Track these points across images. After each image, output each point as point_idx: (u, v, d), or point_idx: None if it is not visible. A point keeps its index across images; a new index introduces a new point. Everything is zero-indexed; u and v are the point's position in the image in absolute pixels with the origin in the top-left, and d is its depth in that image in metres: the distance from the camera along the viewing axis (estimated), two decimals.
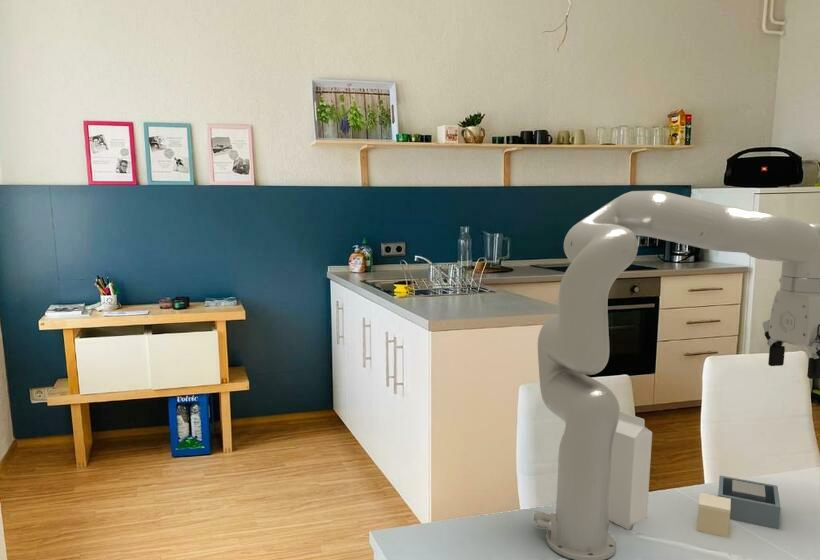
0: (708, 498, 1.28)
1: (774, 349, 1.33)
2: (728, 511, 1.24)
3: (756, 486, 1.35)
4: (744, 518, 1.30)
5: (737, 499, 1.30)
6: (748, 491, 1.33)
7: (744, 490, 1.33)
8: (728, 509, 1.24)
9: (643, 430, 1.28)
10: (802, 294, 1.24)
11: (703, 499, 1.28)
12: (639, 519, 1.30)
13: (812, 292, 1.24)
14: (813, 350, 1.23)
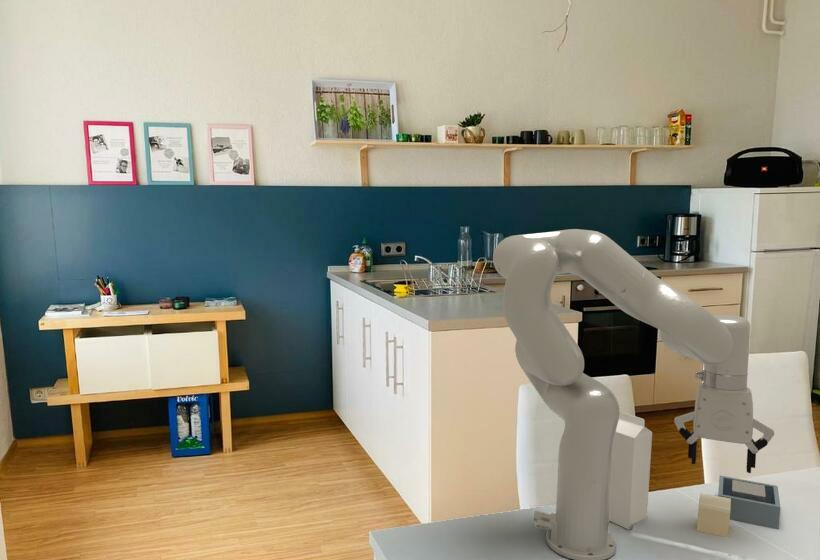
0: (708, 498, 1.28)
1: (696, 446, 1.27)
2: (728, 511, 1.24)
3: (756, 486, 1.35)
4: (744, 518, 1.30)
5: (737, 499, 1.30)
6: (748, 491, 1.33)
7: (744, 490, 1.33)
8: (728, 509, 1.24)
9: (643, 430, 1.28)
10: (740, 391, 1.21)
11: (703, 499, 1.28)
12: (639, 519, 1.30)
13: (745, 387, 1.22)
14: (752, 445, 1.22)
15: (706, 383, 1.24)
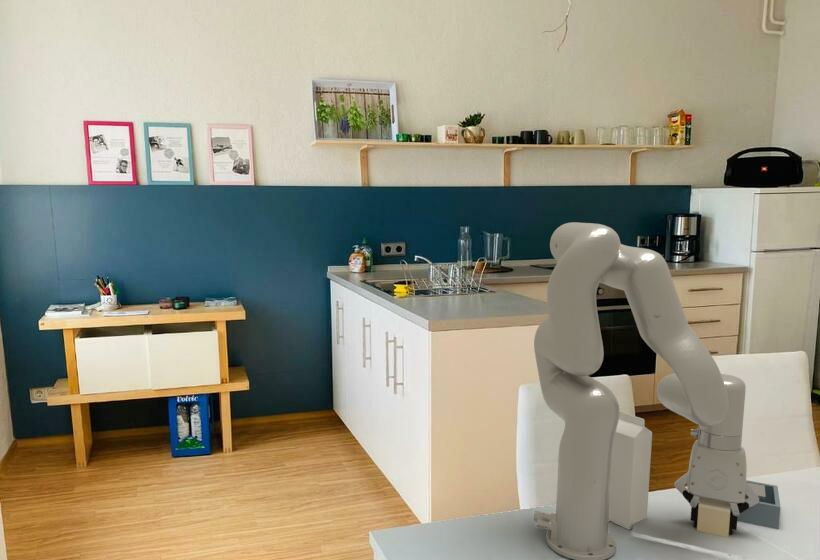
0: (708, 498, 1.28)
1: None
2: (728, 511, 1.24)
3: (756, 486, 1.35)
4: (744, 518, 1.30)
5: None
6: None
7: None
8: (728, 509, 1.24)
9: (643, 430, 1.28)
10: (734, 452, 1.22)
11: (703, 499, 1.28)
12: (639, 519, 1.30)
13: (740, 448, 1.23)
14: (736, 508, 1.24)
15: (701, 441, 1.25)
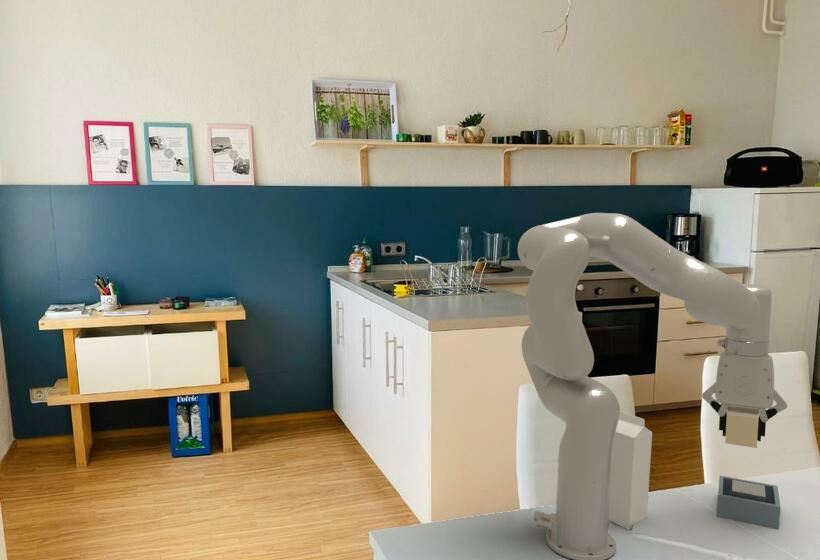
0: (736, 407, 1.30)
1: None
2: (756, 416, 1.26)
3: (756, 486, 1.35)
4: (744, 518, 1.30)
5: (737, 499, 1.30)
6: (748, 491, 1.33)
7: (744, 490, 1.33)
8: (756, 415, 1.26)
9: (643, 430, 1.28)
10: (762, 358, 1.24)
11: (731, 408, 1.30)
12: (639, 519, 1.30)
13: (767, 354, 1.25)
14: (764, 414, 1.26)
15: (728, 350, 1.27)
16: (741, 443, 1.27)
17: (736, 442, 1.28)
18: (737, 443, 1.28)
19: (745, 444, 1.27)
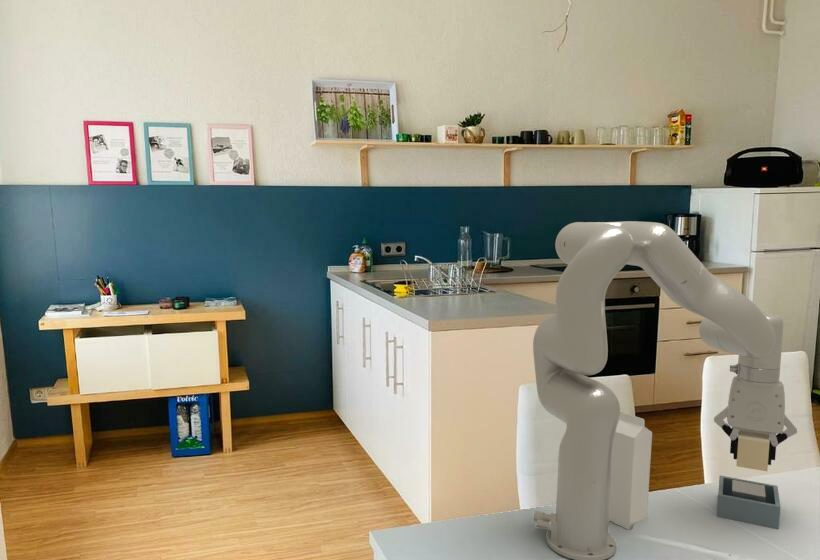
0: (747, 431, 1.34)
1: None
2: (767, 441, 1.30)
3: (756, 486, 1.35)
4: (744, 518, 1.30)
5: (737, 499, 1.30)
6: (748, 491, 1.33)
7: (744, 490, 1.33)
8: (767, 439, 1.30)
9: (643, 430, 1.28)
10: (773, 384, 1.28)
11: (742, 432, 1.34)
12: (639, 519, 1.30)
13: (778, 381, 1.29)
14: (775, 438, 1.30)
15: (740, 376, 1.31)
16: (752, 466, 1.31)
17: (747, 465, 1.32)
18: (748, 466, 1.32)
19: (756, 467, 1.31)
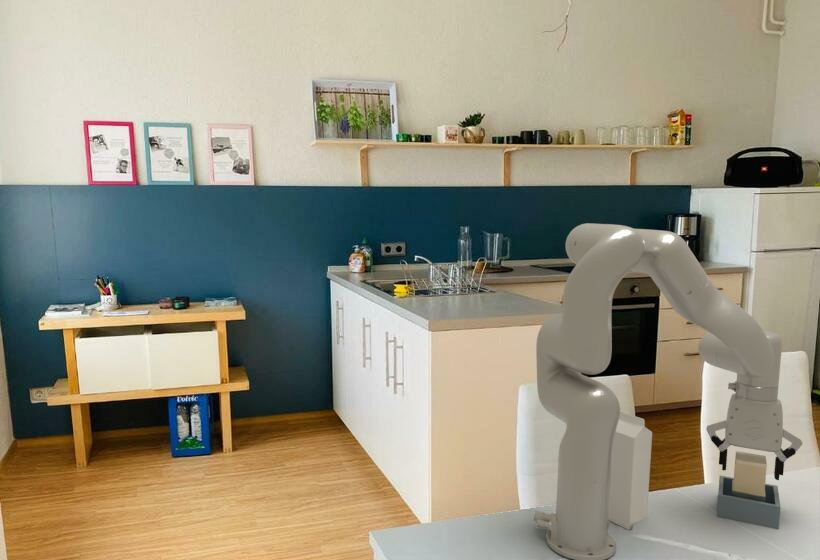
0: (744, 455, 1.35)
1: None
2: (764, 466, 1.30)
3: None
4: (744, 518, 1.30)
5: (737, 499, 1.30)
6: None
7: None
8: (764, 464, 1.30)
9: (643, 430, 1.28)
10: (771, 403, 1.29)
11: (739, 456, 1.34)
12: (639, 519, 1.30)
13: (776, 399, 1.29)
14: (781, 453, 1.30)
15: (739, 394, 1.32)
16: (749, 491, 1.32)
17: (744, 490, 1.32)
18: (745, 491, 1.32)
19: (753, 492, 1.31)
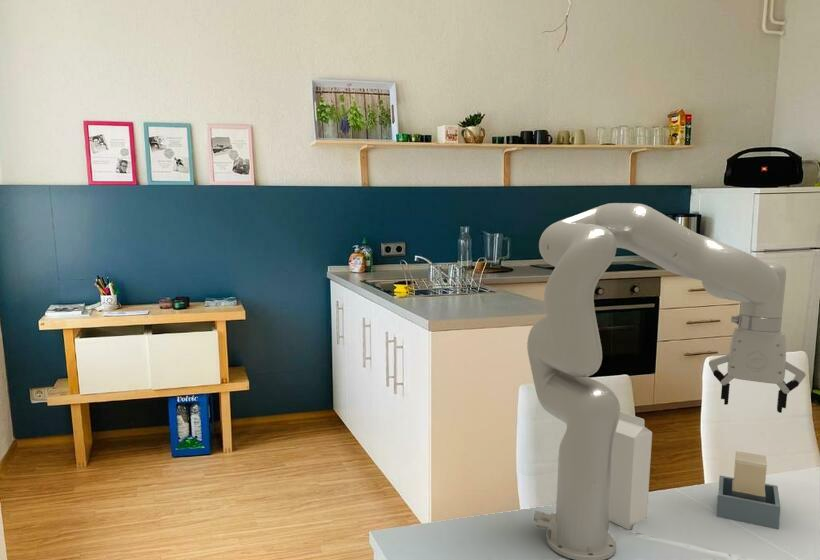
0: (744, 455, 1.35)
1: None
2: (764, 466, 1.30)
3: None
4: (744, 518, 1.30)
5: (737, 499, 1.30)
6: None
7: None
8: (764, 464, 1.30)
9: (643, 430, 1.28)
10: (775, 333, 1.28)
11: (739, 456, 1.34)
12: (639, 519, 1.30)
13: (780, 330, 1.28)
14: (784, 385, 1.29)
15: (742, 326, 1.31)
16: (749, 491, 1.32)
17: (744, 490, 1.32)
18: (745, 491, 1.32)
19: (753, 492, 1.31)
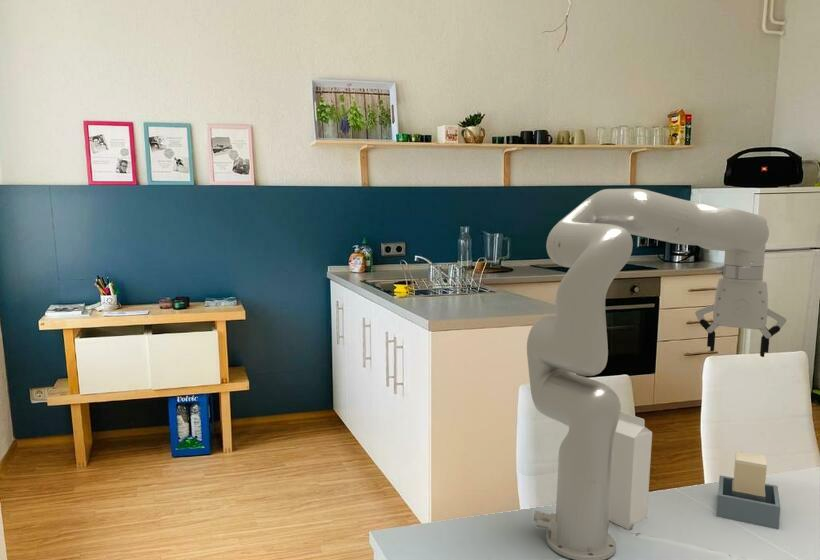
0: (744, 455, 1.35)
1: (714, 335, 1.41)
2: (764, 466, 1.30)
3: None
4: (744, 518, 1.30)
5: (737, 499, 1.30)
6: None
7: None
8: (764, 464, 1.30)
9: (643, 430, 1.28)
10: (757, 281, 1.35)
11: (739, 456, 1.34)
12: (639, 519, 1.30)
13: (761, 279, 1.36)
14: (766, 331, 1.36)
15: (726, 275, 1.38)
16: (749, 491, 1.32)
17: (744, 490, 1.32)
18: (745, 491, 1.32)
19: (753, 492, 1.31)
